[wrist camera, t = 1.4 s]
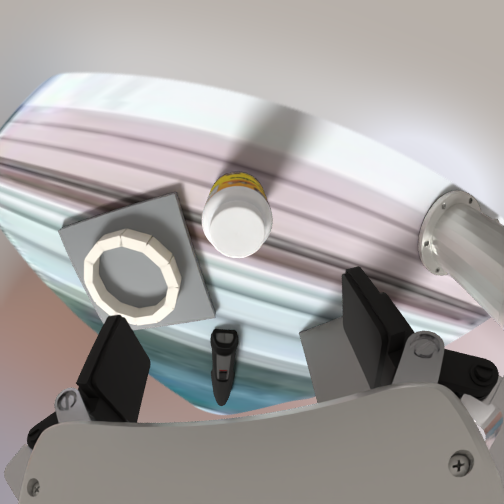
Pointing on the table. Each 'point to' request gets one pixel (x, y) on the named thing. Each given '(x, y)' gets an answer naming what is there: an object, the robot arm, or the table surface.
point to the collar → (140, 264)
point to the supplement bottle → (237, 215)
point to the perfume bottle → (332, 362)
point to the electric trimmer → (223, 363)
